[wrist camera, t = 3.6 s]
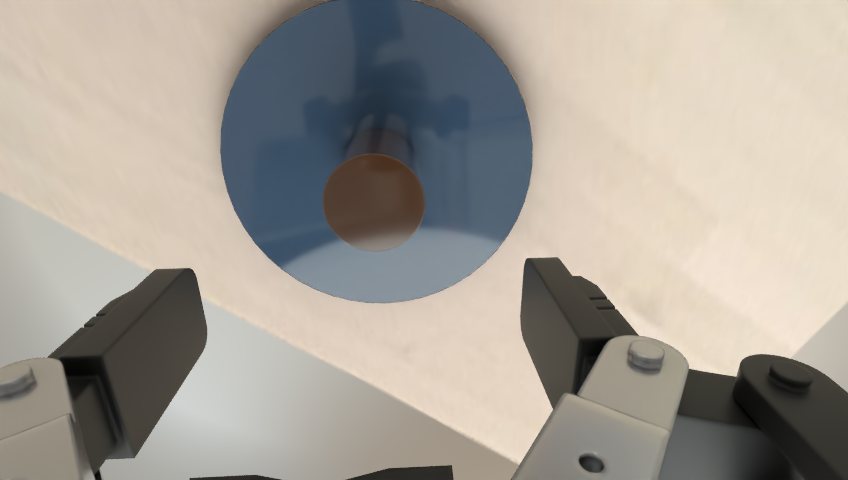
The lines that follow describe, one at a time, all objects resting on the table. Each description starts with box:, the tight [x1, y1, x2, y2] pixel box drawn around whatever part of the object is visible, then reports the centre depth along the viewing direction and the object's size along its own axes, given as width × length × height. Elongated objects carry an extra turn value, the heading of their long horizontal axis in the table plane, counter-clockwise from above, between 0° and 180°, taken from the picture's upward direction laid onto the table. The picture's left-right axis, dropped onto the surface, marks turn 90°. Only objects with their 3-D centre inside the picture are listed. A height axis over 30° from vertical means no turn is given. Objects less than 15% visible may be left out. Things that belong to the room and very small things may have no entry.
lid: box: [220, 0, 532, 303], centre depth 22 cm, size 16×16×7 cm
